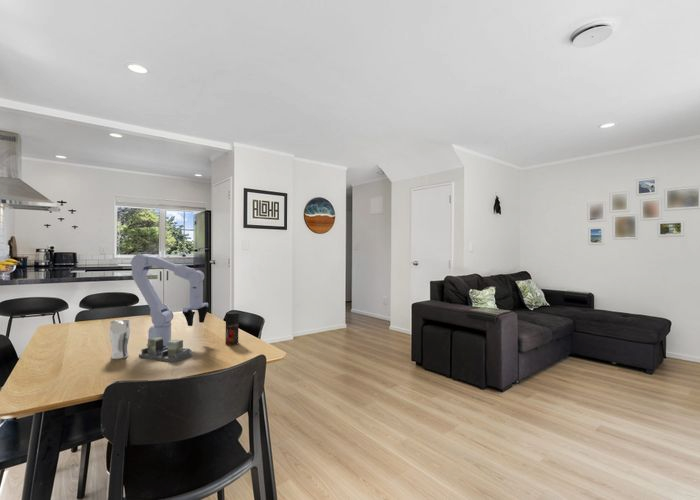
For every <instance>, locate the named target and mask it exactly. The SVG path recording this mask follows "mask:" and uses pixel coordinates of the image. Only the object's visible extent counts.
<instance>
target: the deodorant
mask: <svg viewBox="0 0 700 500" xmlns="http://www.w3.org/2000/svg"><path fill="white" fill-rule="evenodd" d="M239 315H240V313H239V312H238V311H227V312H226V313H225V345H226V344H227V345H226V346H234V345H233V344H237V343H238V344H239V328H240V327H239V324H240V323H239V318H240V317H239ZM238 344H237V345H238Z"/></svg>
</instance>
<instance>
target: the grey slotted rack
mask: <svg viewBox="0 0 700 500" xmlns="http://www.w3.org/2000/svg"><path fill="white" fill-rule="evenodd" d="M147 344H148V345H147V347H144V348H141V353H139V354H138V358H141V359H148V360H149V359H150V360H155V361H162V362H170V363H178V362H181V361H182V360H185V359H188V358H190V357H192V355H193V351H192V349H190V348H188V347H183V351H181V352H178V353H175V357H171V356H168V345H166V346H164V345H163V338H161V337H153V338H150V339H148V338H147Z"/></svg>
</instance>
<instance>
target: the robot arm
mask: <svg viewBox="0 0 700 500" xmlns="http://www.w3.org/2000/svg"><path fill="white" fill-rule="evenodd" d="M130 266H131V277H132V279H133V281H134V283H135V284H136V286H137V288H138V290H139V291H140V293H141V295H142V297H143V298H144V300H145V302H146V303H147V305H148V307H149V309H150V310H149V311H150V312H149V316H150V317H151V323H152V325H151V326H150V327H149V329H148V331H147V333H148V334H147V336H148V337H147V340H148V339H150V338H153V337H161V338H163V345H164V346H168V341H171V340H172V320H173V319H174V313H173V311H172V310H170V309H169V308H168V306H167V305H165V304H163V302H162V300H161V298H160V297H159V295H158V293H157V291H156V290H155V288H154V286H153V285H152V283H151V281H150V280H149V277H148V276H147V274H148V273H149V271H150V269H151V268H152V267H153V266H155V267H156V266H158V267H160V268H163V269H166V270H168V271H172V272H173V274H174V275H175V276H177V277H179V278H181V279H184V280H187V281H188V283H189V305H187V306H183V307H182V315H184V318H185V320H186V324H187V326H188V327H193V324H194V317H195V313H196V311H194V310H197V313H198V321H199V323H201V324H204V323H205V320H206V319H205V318H206V316H207V314H208V312H209V310H210V308H209V303H208V302H203V300H204V299H203V298H204V297H203V296H204V282H203V281H204V280H205V274H204V272H203V271H201V270H199V269H196V268H192V267H189V266H187V264H186V263H180V264H175V263H172V262H170V261H168V260H166V259H164V258H163V257H160V256H157V255H154V254H151V253H144V254H141V253H138V254H136V255H134V256H133V257H132V258H131V261H130ZM146 345H147V346H148V343H146Z"/></svg>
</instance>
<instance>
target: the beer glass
mask: <svg viewBox="0 0 700 500" xmlns="http://www.w3.org/2000/svg"><path fill="white" fill-rule="evenodd" d="M130 331H131V329H130V320H128V319H117V320H112V321H110V325H109V338H110V345H111V356H110V359H111V360H123V359H126V358H128V357H129V352H128V346H129V345H128V344H129V340H130V334H131V332H130Z"/></svg>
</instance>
